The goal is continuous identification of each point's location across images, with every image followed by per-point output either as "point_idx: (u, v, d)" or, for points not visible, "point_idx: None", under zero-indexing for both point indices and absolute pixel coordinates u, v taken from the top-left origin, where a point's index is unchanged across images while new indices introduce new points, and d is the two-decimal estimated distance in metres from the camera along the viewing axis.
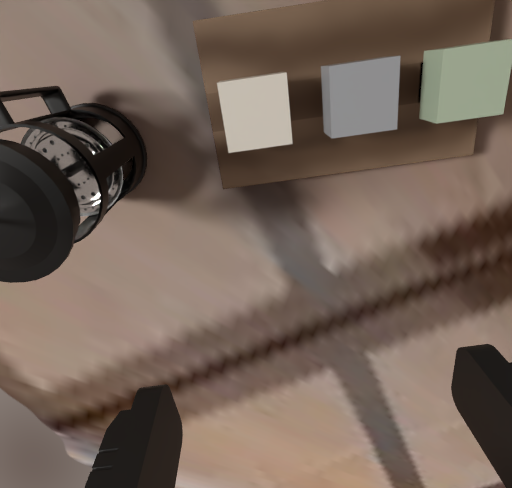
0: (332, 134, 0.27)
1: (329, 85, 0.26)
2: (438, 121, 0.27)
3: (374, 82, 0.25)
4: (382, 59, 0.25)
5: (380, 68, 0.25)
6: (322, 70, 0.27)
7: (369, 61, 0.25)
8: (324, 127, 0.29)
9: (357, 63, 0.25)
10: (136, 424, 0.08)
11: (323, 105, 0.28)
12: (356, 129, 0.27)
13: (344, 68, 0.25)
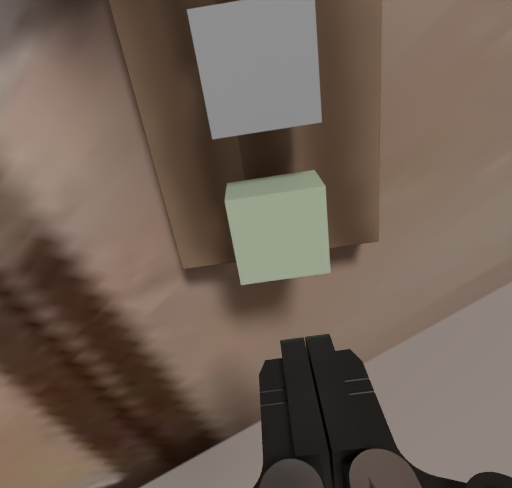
0: (194, 10, 0.14)
1: None
2: (227, 203, 0.17)
3: (285, 84, 0.15)
4: (317, 92, 0.15)
5: (306, 91, 0.15)
6: None
7: (317, 69, 0.15)
8: None
9: (315, 46, 0.15)
10: (294, 367, 0.09)
11: None
12: (207, 62, 0.15)
13: (309, 20, 0.14)
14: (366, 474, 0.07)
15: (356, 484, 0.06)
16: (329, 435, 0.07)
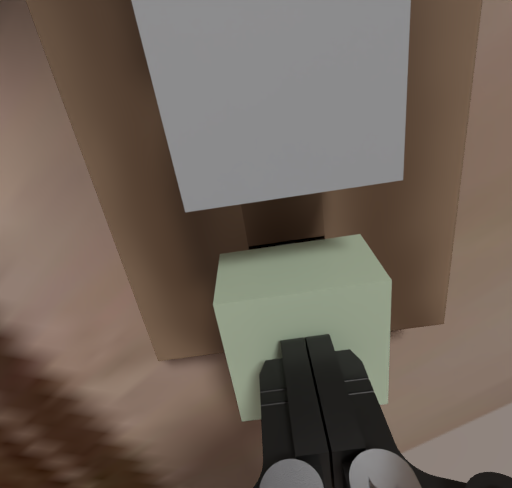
0: None
1: None
2: (218, 307, 0.10)
3: (334, 106, 0.07)
4: (400, 122, 0.07)
5: (377, 120, 0.07)
6: None
7: (403, 75, 0.07)
8: None
9: (404, 26, 0.07)
10: (294, 367, 0.09)
11: None
12: (168, 60, 0.07)
13: None
14: (366, 474, 0.07)
15: (356, 484, 0.06)
16: (329, 435, 0.07)
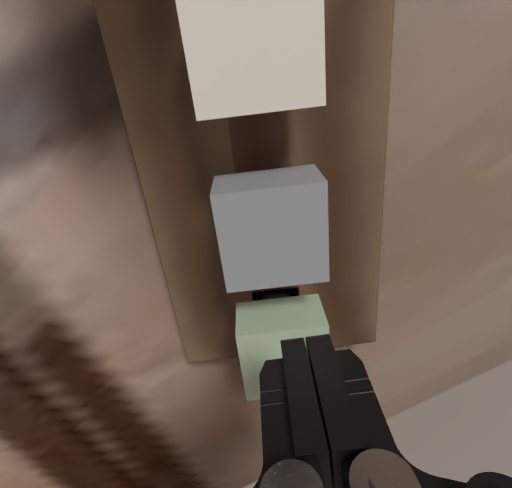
0: (216, 196, 0.15)
1: (297, 184, 0.15)
2: (238, 338, 0.19)
3: (297, 252, 0.16)
4: (327, 258, 0.17)
5: (316, 257, 0.16)
6: (310, 167, 0.17)
7: (327, 241, 0.16)
8: (222, 177, 0.17)
9: (326, 225, 0.16)
10: (294, 367, 0.09)
11: (257, 172, 0.17)
12: (226, 234, 0.16)
13: (322, 205, 0.15)
14: (366, 474, 0.07)
15: (355, 484, 0.06)
16: (329, 435, 0.07)
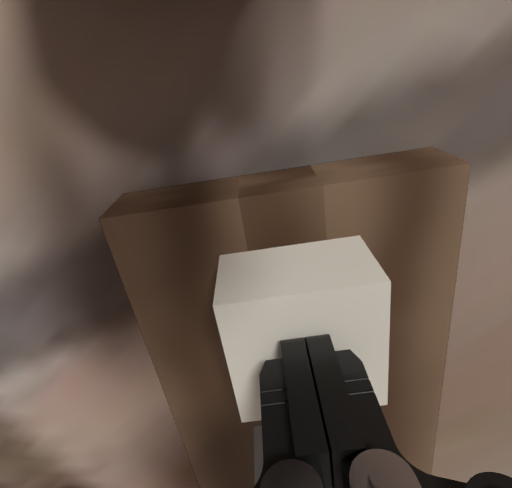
0: None
1: None
2: None
3: None
4: None
5: None
6: None
7: None
8: None
9: None
10: (294, 367, 0.09)
11: None
12: None
13: None
14: (366, 474, 0.07)
15: (356, 484, 0.06)
16: (329, 435, 0.07)
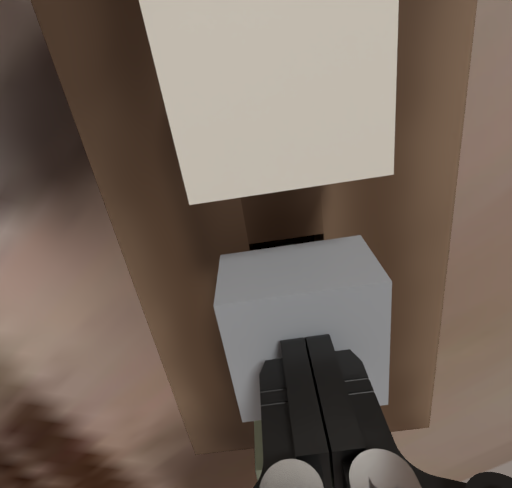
0: (224, 306, 0.10)
1: (344, 284, 0.10)
2: (259, 472, 0.14)
3: None
4: (385, 378, 0.11)
5: (370, 377, 0.11)
6: (357, 243, 0.12)
7: (387, 357, 0.11)
8: (231, 258, 0.12)
9: (387, 337, 0.11)
10: (294, 367, 0.09)
11: (280, 251, 0.12)
12: (239, 354, 0.11)
13: (382, 313, 0.10)
14: (366, 474, 0.07)
15: (356, 484, 0.06)
16: (329, 435, 0.07)
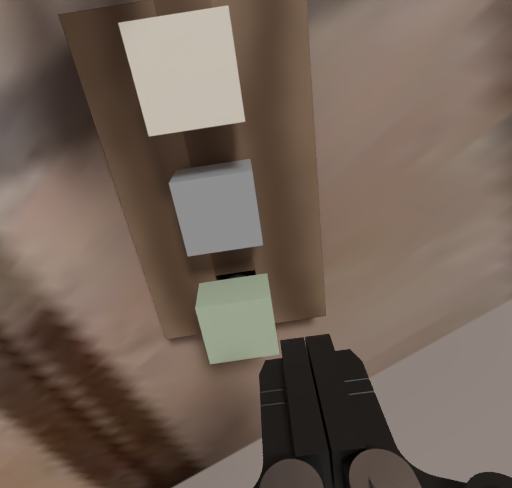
0: (173, 183, 0.21)
1: (231, 173, 0.21)
2: (197, 309, 0.23)
3: (236, 223, 0.22)
4: (258, 227, 0.23)
5: (251, 227, 0.22)
6: (246, 161, 0.23)
7: (257, 215, 0.22)
8: (181, 170, 0.23)
9: (255, 202, 0.22)
10: (294, 367, 0.09)
11: (207, 166, 0.23)
12: (183, 212, 0.22)
13: (250, 188, 0.21)
14: (366, 474, 0.07)
15: (356, 484, 0.06)
16: (329, 435, 0.07)
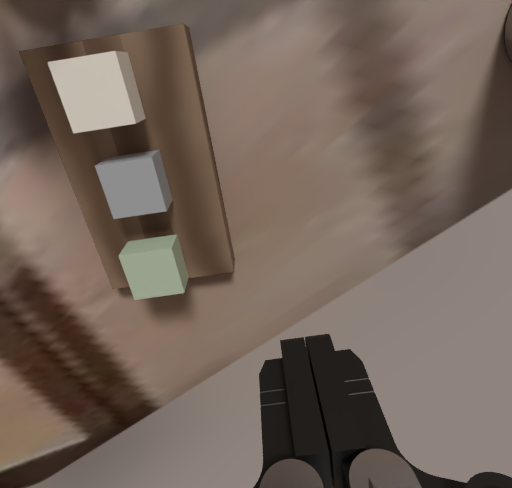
0: (98, 166, 0.30)
1: (137, 159, 0.30)
2: (120, 256, 0.33)
3: (145, 195, 0.32)
4: (162, 198, 0.32)
5: (156, 198, 0.32)
6: (154, 151, 0.32)
7: (159, 188, 0.31)
8: (109, 158, 0.33)
9: (156, 179, 0.31)
10: (294, 367, 0.09)
11: (128, 155, 0.33)
12: (106, 186, 0.31)
13: (152, 169, 0.31)
14: (366, 474, 0.07)
15: (356, 484, 0.06)
16: (329, 435, 0.07)
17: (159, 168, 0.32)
